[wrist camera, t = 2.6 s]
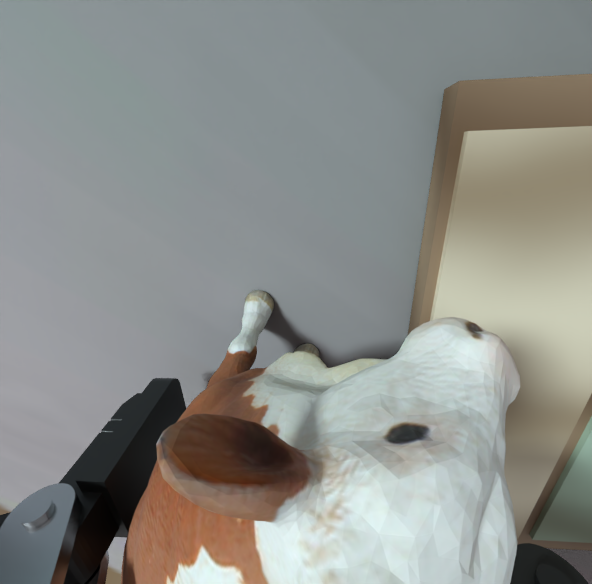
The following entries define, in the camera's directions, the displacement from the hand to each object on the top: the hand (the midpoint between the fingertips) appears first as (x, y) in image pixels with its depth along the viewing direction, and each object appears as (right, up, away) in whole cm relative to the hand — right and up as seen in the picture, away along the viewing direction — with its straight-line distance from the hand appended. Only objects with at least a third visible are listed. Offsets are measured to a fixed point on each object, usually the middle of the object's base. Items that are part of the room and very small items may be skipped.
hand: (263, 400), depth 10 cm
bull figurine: (0, +1, +1) cm, 1 cm away
